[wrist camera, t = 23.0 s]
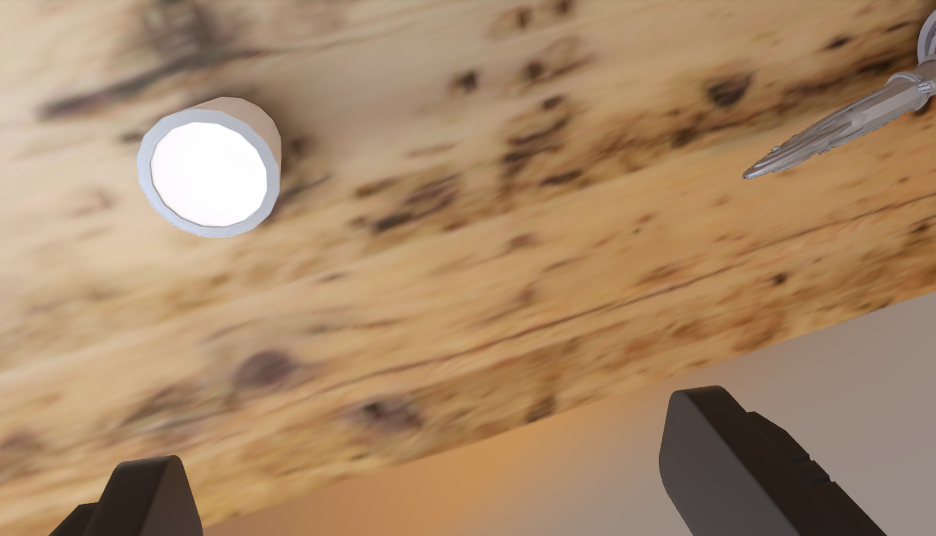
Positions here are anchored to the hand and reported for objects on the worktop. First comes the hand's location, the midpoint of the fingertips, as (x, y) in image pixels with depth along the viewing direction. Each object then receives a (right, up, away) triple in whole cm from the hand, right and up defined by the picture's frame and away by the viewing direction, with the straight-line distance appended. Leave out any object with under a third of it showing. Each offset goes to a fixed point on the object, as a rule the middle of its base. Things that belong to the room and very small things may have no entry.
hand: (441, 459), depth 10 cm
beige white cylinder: (-14, +11, +26) cm, 32 cm away
